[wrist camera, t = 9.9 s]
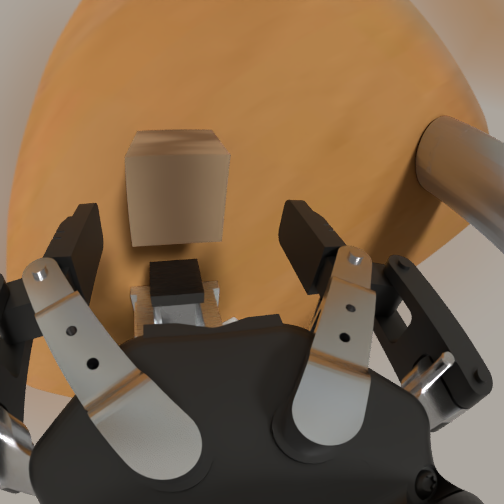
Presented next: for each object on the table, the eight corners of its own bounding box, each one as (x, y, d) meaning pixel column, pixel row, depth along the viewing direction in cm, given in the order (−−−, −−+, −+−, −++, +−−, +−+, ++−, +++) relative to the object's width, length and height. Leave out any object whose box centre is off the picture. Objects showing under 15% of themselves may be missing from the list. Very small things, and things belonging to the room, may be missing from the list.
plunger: (197, 258, 21) (209, 315, 16) (197, 334, 26) (207, 383, 22) (124, 263, 19) (119, 322, 15) (141, 339, 24) (145, 389, 20)
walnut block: (211, 129, 17) (230, 155, 13) (206, 195, 20) (221, 241, 16) (137, 131, 16) (124, 157, 11) (139, 198, 19) (132, 246, 14)
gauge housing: (217, 280, 25) (232, 332, 21) (213, 347, 32) (224, 390, 27) (130, 287, 23) (129, 341, 18) (147, 353, 29) (151, 399, 25)
